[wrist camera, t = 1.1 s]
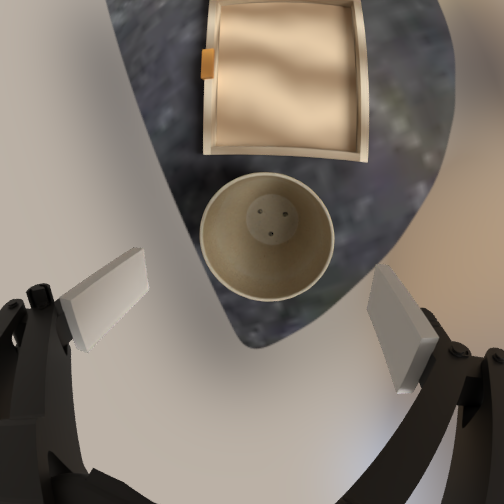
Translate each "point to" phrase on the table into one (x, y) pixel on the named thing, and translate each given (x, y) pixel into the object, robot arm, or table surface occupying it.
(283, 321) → the table surface
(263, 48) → the wooden tray
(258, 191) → the flower pot
